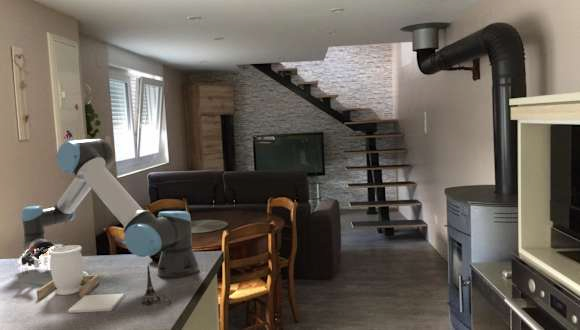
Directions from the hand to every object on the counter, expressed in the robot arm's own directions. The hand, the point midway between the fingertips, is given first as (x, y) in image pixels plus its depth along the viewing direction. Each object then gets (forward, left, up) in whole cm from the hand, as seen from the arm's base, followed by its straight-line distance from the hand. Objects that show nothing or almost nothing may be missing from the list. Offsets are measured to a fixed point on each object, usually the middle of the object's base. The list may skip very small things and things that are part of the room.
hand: (58, 259), depth 182 cm
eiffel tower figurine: (-39, +22, -10) cm, 46 cm away
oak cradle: (-6, +7, -9) cm, 14 cm away
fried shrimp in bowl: (-30, -29, -10) cm, 43 cm away
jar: (-6, +7, -10) cm, 14 cm away
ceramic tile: (-21, +21, -9) cm, 32 cm away
